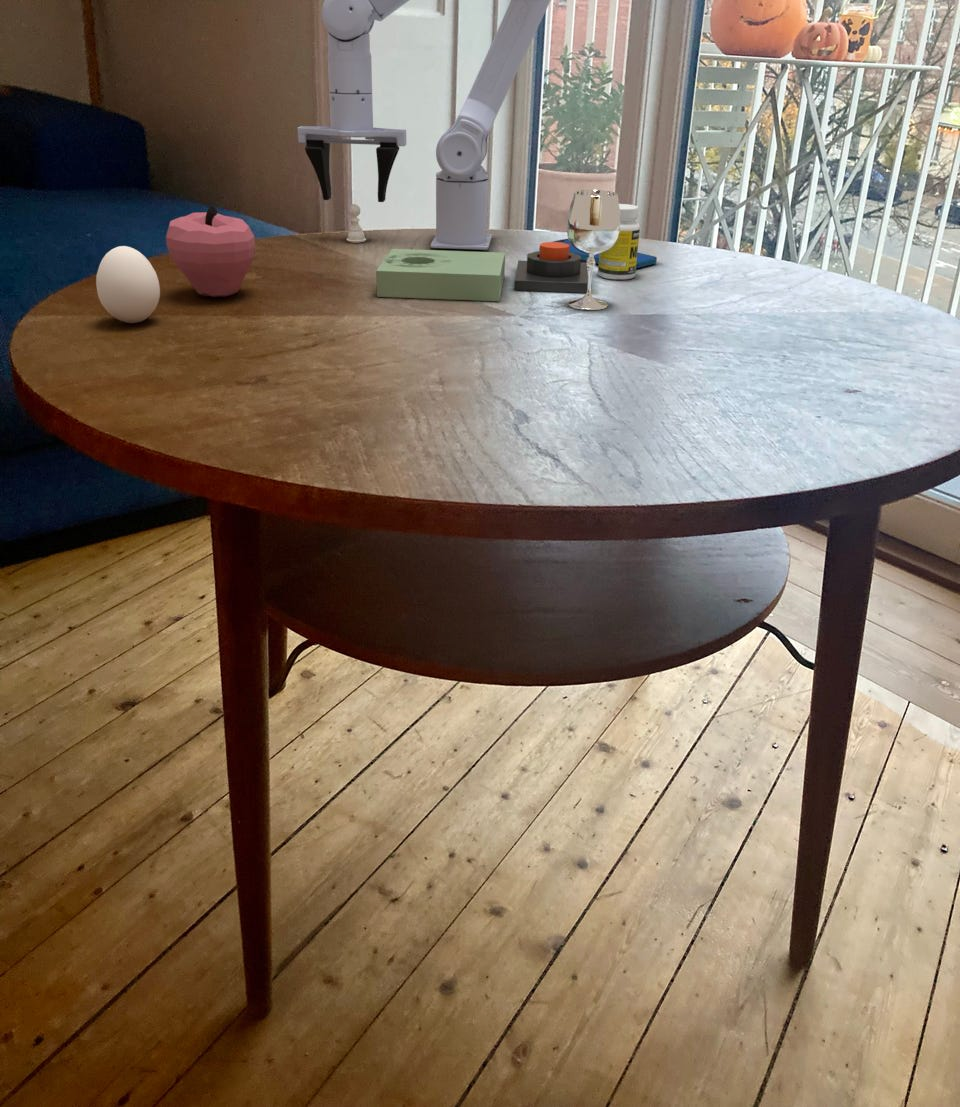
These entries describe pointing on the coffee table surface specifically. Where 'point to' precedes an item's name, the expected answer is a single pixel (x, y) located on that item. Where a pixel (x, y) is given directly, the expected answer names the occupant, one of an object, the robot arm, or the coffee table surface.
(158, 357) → the coffee table surface
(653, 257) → the smartphone
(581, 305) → the wineglass
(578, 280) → the panel
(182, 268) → the apple
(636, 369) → the coffee table surface
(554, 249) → the button
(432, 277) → the pod holder
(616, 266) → the supplement bottle
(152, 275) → the egg
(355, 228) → the chess pawn
